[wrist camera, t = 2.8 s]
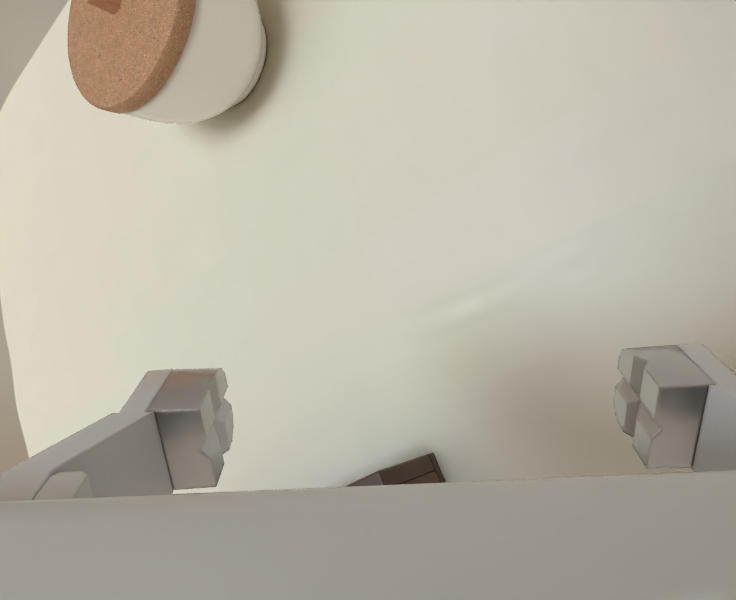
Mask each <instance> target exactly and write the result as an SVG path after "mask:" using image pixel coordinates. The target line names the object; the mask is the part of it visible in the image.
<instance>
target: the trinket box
mask: <svg viewBox="0 0 736 600" xmlns="http://www.w3.org/2000/svg"><path fill="white" fill-rule="evenodd" d="M266 44H267V41H266V33H265V29H264V26H263V23H262V21H261V16H260V12H259V8H258V4H257V1H256V0H72V1H71V7H70V13H69V22H68V55H69V61H70V67H71V71H72V75H73V78H74V81H75V83H76V85H77V87H78V89H79V91H80V92H81V94H82V95H83V97H84V98H85V99H86V100H87V101H88V102H89V103H90V104H92V105H93V106H95V107H97V108H99V109H102V110H106V111H109V112H114V113H119V114H121V113H123V114H126V115H129V116H133V117H137V118H141V119H145V120H149V121H155V122H161V123H169V124H189V123H196V122H201V121H204V120H207V119H210V118H213V117H215V116H217V115H219V114H221V113H222V112H224V111H225V110H227V109H228V108H229V107H231V106H234V105H236V104H238V103H240V102H241V101H242V100H244V99H245V98H246V97H247V96H248V95H249V93H250V92H251V91H252V89H253V88H254V86H255V85H256V83H257V81H258V79H259V77H260V75H261V72H262V69H263V66H264V62H265V57H266Z"/></svg>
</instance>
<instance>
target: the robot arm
mask: <svg viewBox="0 0 736 600" xmlns="http://www.w3.org/2000/svg"><path fill="white" fill-rule="evenodd" d="M618 369H619V371H620V372H621V374H622V375H623V376H624V378H623V379H622V380H621V381H620V382H619V383H618V384H617V385H616V387H615V394H614V407H615V415H616V418H617V420H618V423H619V425H620V427H621V428H622V430H623V432H625V433H626V434H628V435H630V436H632V437H634V439H633V448H634V449H635V451H636V452H637V454H638V455H639V457H640V459H641V460H642V462H643V463H644V465H645V466H646V468H692V470H694V471H695V472H682V473H659V474H636V475H612V476H589V477H566V478H542V479H519V480H496V481H472V482H448V483H425V484H401V485H378V486H354V487H330V488H307V489H283V490H260V491H236V492H212V493H189V494H172V493H173V490H178V489H192V488H206V487H216V486H217V483H218V480H219V477H220V475H221V472H222V469H223V466H224V460H223V454H224V453H225V452H227V451H228V450H229V449H230V445H231V442H232V437H233V428H234V425H233V413H232V407H231V404H230V403H229V402H228V401H227V400H226V399H225V398H224V395H225V393H226V390H227V388H228V385H227V380H226V376H225V372H224V371H223V369H222V368H205V369H175V370H173V369H166V370H153V371H148V372H147V373H146V374H145V376H144V377H143V379H142V380H141V382H140V383H139V385H138V386H137V388H136V389H135V390H134V392H133V393H132V395H131V396H130V398H129V399H128V401H127V402H126V404H125V405H124V407H123V408H122V410H121V411H120V413H112V414H110V415H108V416H106V417H104V418H102V419H101V420H99V421H97V422H95V423H93V424H91V425H90V426H88V427H86V428H84V429H82V430H80V431H78V432H77V433H75V434H73V435H71V436H69V437H67V438H66V439H64V440H62V441H60V442H58V443H56V444H54V445H53V446H51V447H49V448H47V449H45V450H43V451H42V452H40V453H38V454H36V455H34V456H32V457H31V458H29V459H27V460H25V461H23V462H21V463H20V464H18V465H16V466H14V467H12V468H10V469H8V470H7V471H5V472H3V473H2V474H1V475H0V600H736V374H735V373H733V372H732V371H731V370H730V369H729V368H728V367H727V366H726V365H725V364H724V363H723V362H722V361H721V360H719V359H718V358H717V357H716V356H715V355H714V354H713V353H712V352H711V351H710V350H709V349H708V348H707V347H706V346H704V345H702V344H699V343H694V344H683V345H667V346H654V347H640V348H627V349H622V351H621V353H620V356H619V361H618Z"/></svg>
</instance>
